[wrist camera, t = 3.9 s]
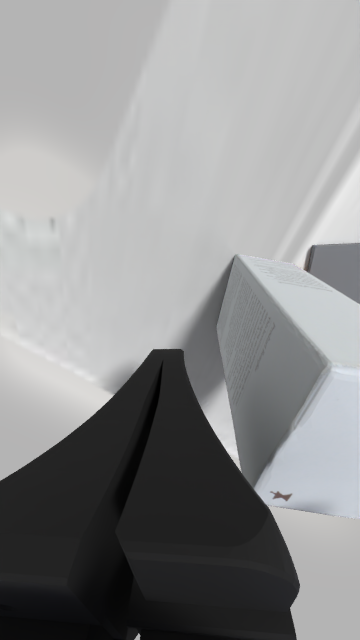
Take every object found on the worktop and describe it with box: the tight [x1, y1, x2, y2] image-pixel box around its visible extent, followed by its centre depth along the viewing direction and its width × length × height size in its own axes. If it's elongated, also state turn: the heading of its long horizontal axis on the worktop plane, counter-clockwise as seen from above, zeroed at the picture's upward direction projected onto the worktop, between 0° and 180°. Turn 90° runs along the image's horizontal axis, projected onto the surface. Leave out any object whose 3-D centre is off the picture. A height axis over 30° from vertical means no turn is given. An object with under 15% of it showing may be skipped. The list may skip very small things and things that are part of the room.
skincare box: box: [216, 254, 360, 519], centre depth 11 cm, size 6×4×12 cm
